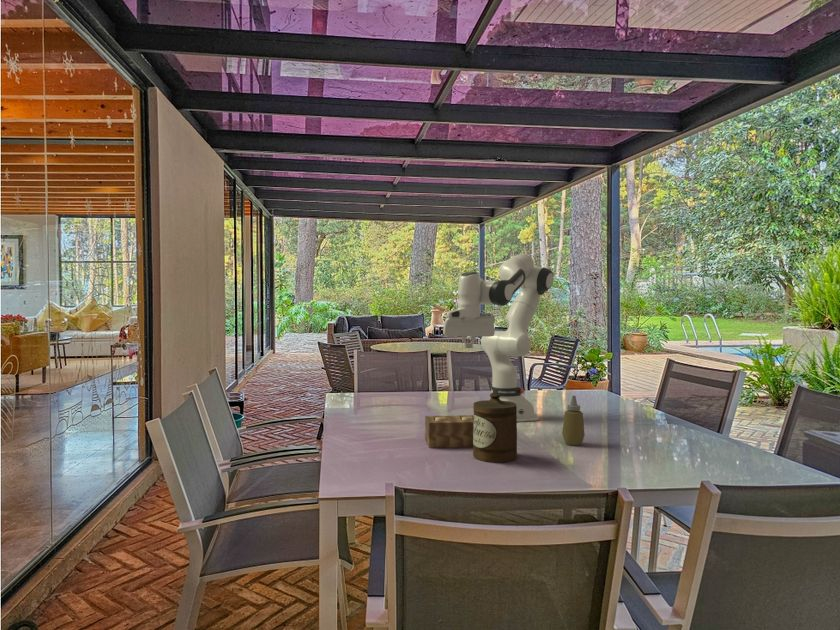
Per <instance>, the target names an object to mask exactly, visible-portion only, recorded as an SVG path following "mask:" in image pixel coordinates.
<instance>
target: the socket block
mask: <svg viewBox="0 0 840 630" xmlns="http://www.w3.org/2000/svg"><path fill="white" fill-rule="evenodd" d="M436 417H445V418H446V421H435V418H436ZM462 417H472V418H473V420H462ZM424 419H425V422H424V423H425V424H424V427H425V430H424V432H425V433H424V438H425V442H426V445H427V446H428V448H429V449H431V448H433V449H434V448H437V449H438V448H442V449H443V448H473V427H474V414H471V415H470V414H469V415H468V414H467V415H463V414H461V415H425V416H424Z"/></svg>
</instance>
